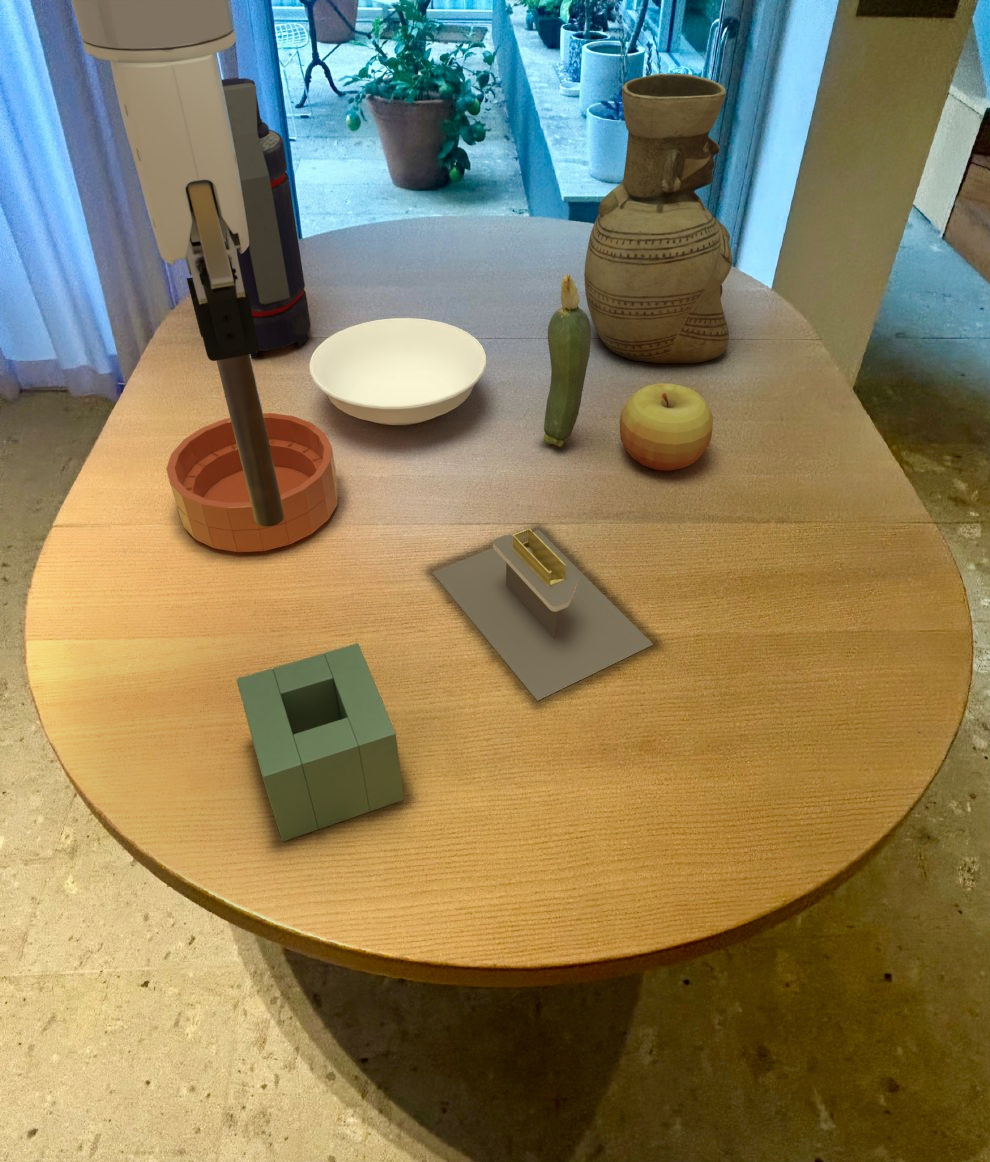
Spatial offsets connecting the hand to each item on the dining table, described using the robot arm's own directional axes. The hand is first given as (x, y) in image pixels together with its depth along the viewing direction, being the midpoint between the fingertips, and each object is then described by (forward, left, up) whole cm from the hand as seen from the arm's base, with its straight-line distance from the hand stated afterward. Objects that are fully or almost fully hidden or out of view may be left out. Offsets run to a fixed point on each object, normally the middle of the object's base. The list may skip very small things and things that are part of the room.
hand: (229, 342), depth 57 cm
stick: (0, 0, -15) cm, 15 cm away
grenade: (+9, +54, -28) cm, 62 cm away
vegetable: (+34, +18, -29) cm, 48 cm away
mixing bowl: (+1, +20, -28) cm, 35 cm away
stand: (-1, -14, -28) cm, 32 cm away
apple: (+43, +12, -28) cm, 53 cm away
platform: (+21, -4, -28) cm, 36 cm away
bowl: (+20, +32, -28) cm, 47 cm away
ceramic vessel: (+55, +35, -28) cm, 71 cm away
